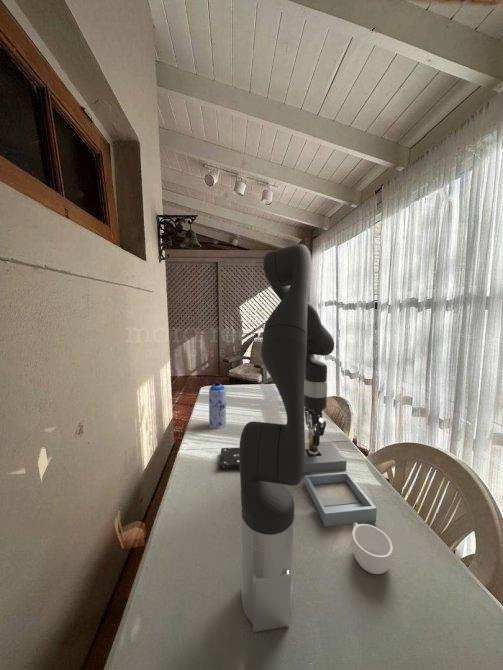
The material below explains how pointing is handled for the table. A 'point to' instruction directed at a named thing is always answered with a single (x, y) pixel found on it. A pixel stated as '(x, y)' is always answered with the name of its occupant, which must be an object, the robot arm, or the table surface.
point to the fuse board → (324, 459)
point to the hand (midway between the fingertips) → (313, 442)
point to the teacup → (371, 548)
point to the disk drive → (229, 459)
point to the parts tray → (342, 512)
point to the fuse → (312, 449)
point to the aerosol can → (217, 406)
